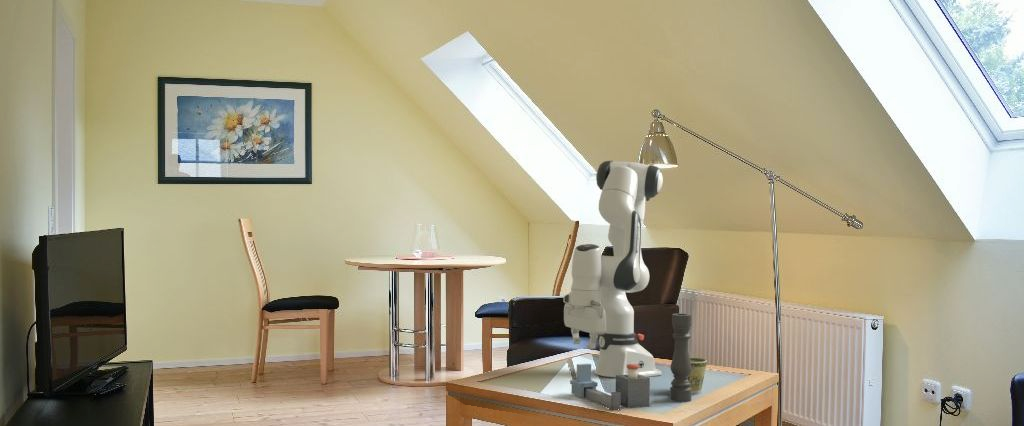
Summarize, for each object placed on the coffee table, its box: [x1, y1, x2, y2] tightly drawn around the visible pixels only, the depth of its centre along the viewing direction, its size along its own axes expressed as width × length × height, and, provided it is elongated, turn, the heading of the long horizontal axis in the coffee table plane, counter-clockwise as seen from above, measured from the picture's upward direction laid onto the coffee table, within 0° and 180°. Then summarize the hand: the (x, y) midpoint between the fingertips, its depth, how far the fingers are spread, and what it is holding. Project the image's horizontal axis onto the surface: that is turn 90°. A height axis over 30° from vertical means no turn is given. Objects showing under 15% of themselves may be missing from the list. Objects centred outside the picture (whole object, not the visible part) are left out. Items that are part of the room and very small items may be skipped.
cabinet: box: [615, 374, 651, 409], centre depth 253 cm, size 7×7×8 cm
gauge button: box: [627, 364, 639, 378], centre depth 253 cm, size 3×3×6 cm
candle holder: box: [669, 312, 693, 403], centre depth 260 cm, size 6×6×25 cm
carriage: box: [569, 363, 598, 398], centre depth 263 cm, size 6×6×9 cm
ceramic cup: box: [688, 356, 708, 395], centre depth 273 cm, size 13×10×10 cm
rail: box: [572, 376, 621, 411], centre depth 256 cm, size 2×24×5 cm, turn 23°
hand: (583, 346), depth 263 cm, fingers open, 8 cm apart
